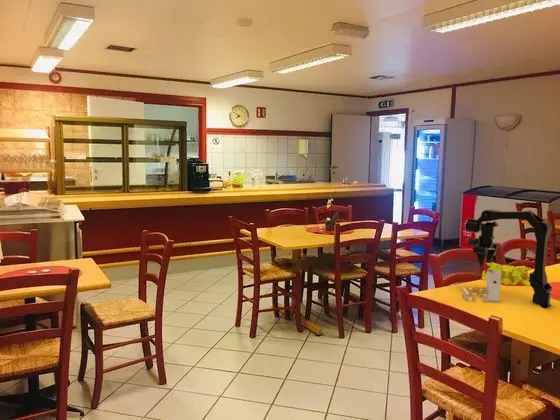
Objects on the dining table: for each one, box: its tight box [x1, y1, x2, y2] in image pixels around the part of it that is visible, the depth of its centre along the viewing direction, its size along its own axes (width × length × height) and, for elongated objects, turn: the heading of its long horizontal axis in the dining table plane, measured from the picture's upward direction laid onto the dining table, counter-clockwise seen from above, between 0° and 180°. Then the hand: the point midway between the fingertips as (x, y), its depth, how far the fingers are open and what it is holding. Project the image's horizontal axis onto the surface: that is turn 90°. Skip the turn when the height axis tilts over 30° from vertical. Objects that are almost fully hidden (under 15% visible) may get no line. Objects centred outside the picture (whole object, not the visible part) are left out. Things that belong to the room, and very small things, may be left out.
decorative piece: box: [480, 261, 533, 287], centre depth 265 cm, size 26×8×30 cm
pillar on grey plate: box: [485, 270, 501, 303], centre depth 223 cm, size 5×5×14 cm
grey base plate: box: [461, 287, 488, 304], centre depth 225 cm, size 17×12×4 cm
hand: (484, 264), depth 238 cm, fingers open, 9 cm apart
